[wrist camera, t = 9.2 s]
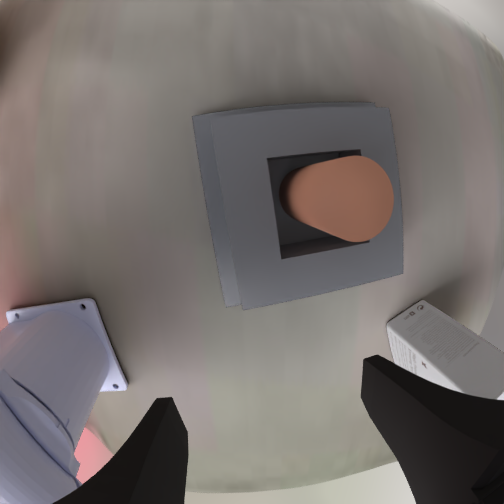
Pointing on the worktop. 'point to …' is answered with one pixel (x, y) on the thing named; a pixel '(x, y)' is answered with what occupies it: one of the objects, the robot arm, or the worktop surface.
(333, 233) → the peg
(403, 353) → the skincare box
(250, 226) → the socket block
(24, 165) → the worktop surface
